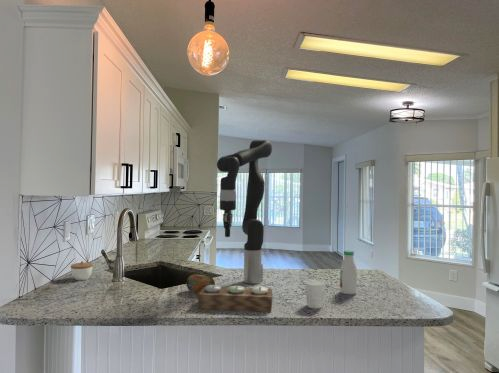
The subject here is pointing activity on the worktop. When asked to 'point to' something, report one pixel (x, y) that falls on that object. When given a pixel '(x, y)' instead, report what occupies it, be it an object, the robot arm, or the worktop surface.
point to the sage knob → (236, 289)
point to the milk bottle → (348, 274)
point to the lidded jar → (81, 270)
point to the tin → (198, 282)
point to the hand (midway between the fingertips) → (227, 236)
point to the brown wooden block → (235, 300)
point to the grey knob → (213, 288)
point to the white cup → (315, 293)
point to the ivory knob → (260, 290)
